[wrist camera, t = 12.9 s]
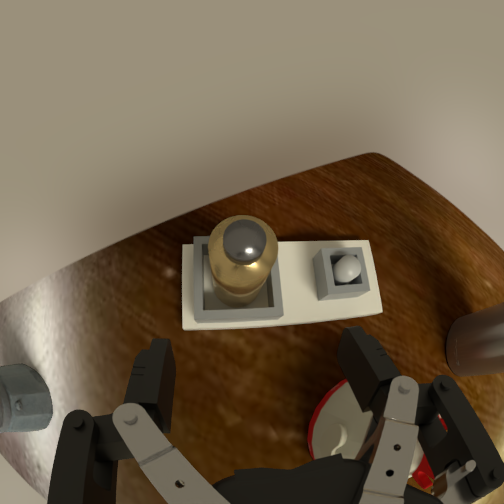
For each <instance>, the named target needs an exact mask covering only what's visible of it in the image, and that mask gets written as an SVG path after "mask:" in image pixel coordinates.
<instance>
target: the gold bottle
mask: <svg viewBox="0 0 504 504" xmlns="http://www.w3.org/2000/svg"><path fill="white" fill-rule="evenodd" d="M208 251H209V259H210V266H211V273H212V281H213V288H214V292H215V294H216V296H217V298H218V299H219V300H220V301H221V302H222V303H224V304H225V305H227V306H230V307H236V308H239V307H244V306H247V305H249V304H250V303H252V302H253V301H254V300H255V299H256V297H257V296H258V294H259V292H260V290H261V288H262V286H263V284H264V282H265V281H266V279H267V277H268V275H269V273H270V271H271V269H272V267H273V265H274V263H275V262H276V259H277V256H278V241H277V238H276V236H275V234H274V232H273V230H272V229H271V228H270V227H269V226H268V225H267V224H266V223H265V222H263V221H262V220H260V219H258V218H255V217H252V216H247V215H237V216H232V217H229V218H227V219H225V220H223V221H222V222H220V223H219V224H218V225H217V226H216V227H215V228H214V230H213V231H212V233H211V235H210V238H209V242H208Z"/></svg>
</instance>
